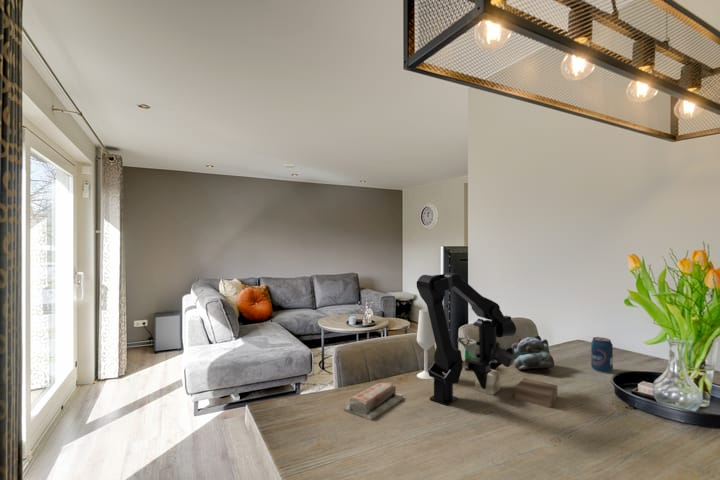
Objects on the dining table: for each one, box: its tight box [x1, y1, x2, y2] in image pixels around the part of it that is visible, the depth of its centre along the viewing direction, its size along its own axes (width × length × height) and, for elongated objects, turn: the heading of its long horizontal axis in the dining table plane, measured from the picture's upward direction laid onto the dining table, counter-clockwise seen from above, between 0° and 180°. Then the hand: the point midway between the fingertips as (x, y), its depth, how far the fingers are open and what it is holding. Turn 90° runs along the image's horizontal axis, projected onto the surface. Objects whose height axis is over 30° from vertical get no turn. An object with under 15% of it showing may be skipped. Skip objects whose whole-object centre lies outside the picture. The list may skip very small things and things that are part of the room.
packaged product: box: [343, 382, 404, 421], centre depth 110 cm, size 18×5×10 cm
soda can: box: [590, 336, 614, 374], centre depth 140 cm, size 7×7×12 cm
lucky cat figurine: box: [511, 335, 555, 371], centre depth 143 cm, size 15×12×14 cm
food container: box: [457, 336, 479, 371], centre depth 144 cm, size 12×6×10 cm, turn 179°
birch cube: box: [474, 369, 501, 396], centre depth 121 cm, size 6×6×6 cm
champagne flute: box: [416, 309, 436, 380], centre depth 134 cm, size 7×7×24 cm
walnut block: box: [514, 377, 558, 409], centre depth 115 cm, size 10×10×4 cm
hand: (487, 385), depth 121 cm, fingers closed on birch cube, 6 cm apart
